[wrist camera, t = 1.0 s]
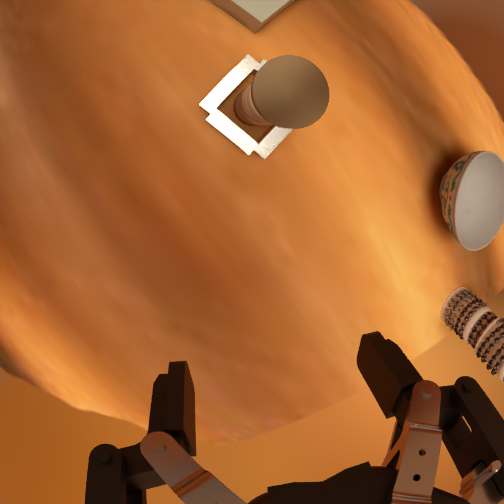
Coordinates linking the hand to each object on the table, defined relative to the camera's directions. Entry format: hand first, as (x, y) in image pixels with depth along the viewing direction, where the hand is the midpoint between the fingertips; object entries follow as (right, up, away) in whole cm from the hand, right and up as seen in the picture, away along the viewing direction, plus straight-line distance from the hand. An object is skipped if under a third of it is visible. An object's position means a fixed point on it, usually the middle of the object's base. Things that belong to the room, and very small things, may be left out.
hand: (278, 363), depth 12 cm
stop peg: (-1, +21, +17) cm, 27 cm away
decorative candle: (+41, -6, +37) cm, 55 cm away
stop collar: (-1, +21, +17) cm, 27 cm away
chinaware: (+31, +15, +26) cm, 43 cm away
